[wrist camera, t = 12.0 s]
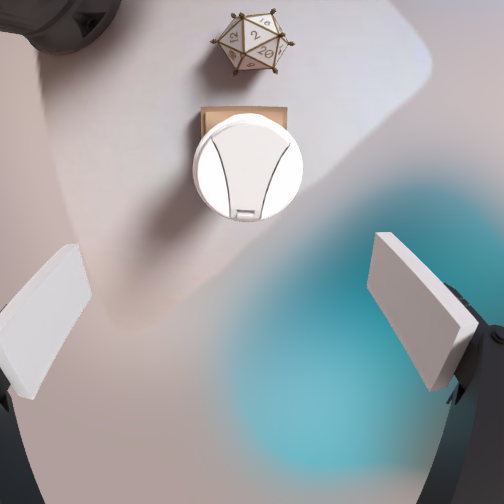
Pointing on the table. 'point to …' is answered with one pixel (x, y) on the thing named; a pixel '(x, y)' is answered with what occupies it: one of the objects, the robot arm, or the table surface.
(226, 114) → the plinth
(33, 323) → the robot arm
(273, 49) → the game die
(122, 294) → the table surface
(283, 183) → the coffee cup
